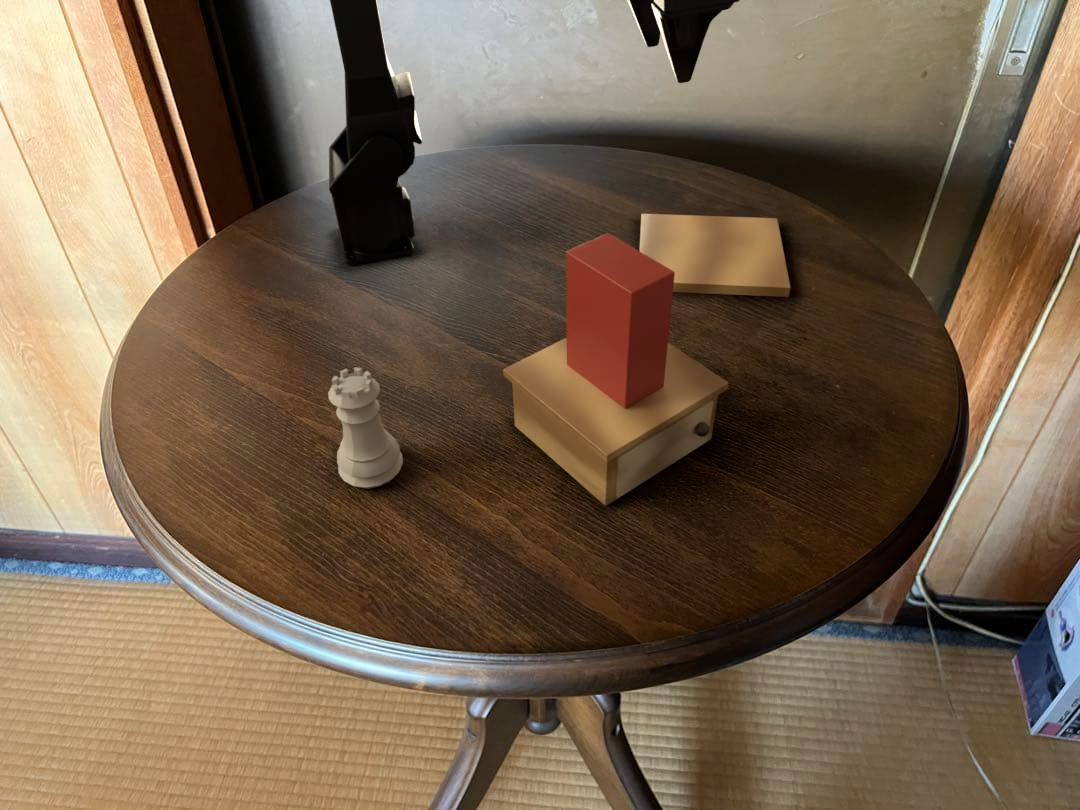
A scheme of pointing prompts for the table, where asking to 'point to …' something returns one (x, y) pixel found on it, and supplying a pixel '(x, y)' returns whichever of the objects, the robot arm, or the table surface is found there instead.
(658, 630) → the table surface
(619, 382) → the tall red upright block
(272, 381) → the table surface
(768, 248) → the board
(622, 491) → the cabinet
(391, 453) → the rook chess piece
